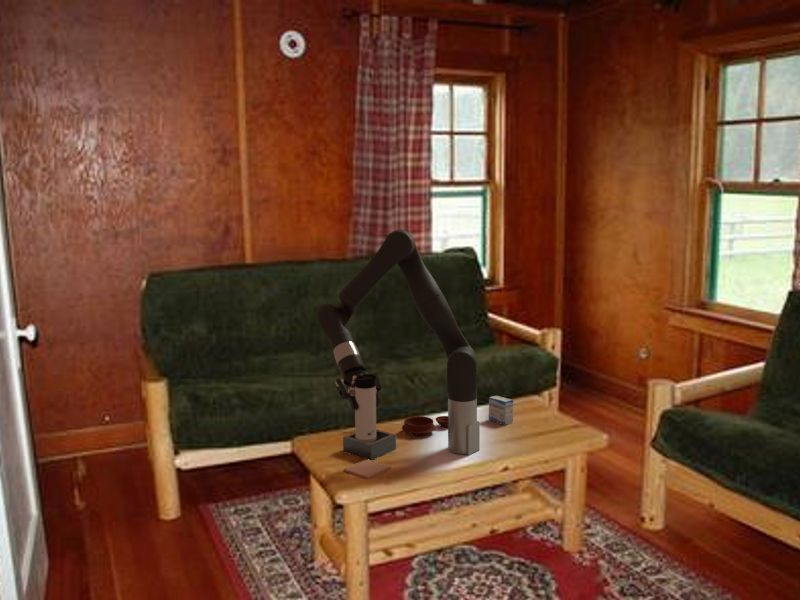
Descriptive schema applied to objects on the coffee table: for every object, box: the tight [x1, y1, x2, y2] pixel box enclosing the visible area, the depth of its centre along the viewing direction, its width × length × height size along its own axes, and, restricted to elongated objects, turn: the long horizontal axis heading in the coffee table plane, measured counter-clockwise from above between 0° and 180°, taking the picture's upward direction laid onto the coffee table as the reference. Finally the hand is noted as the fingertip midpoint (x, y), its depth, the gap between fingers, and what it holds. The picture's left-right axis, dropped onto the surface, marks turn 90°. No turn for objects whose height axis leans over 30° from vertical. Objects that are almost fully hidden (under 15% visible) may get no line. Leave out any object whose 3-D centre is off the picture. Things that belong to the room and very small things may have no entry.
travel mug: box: [354, 373, 377, 443], centre depth 213 cm, size 6×7×20 cm
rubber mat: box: [343, 459, 392, 480], centre depth 216 cm, size 10×10×1 cm
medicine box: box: [488, 395, 514, 426], centre depth 257 cm, size 8×4×9 cm, turn 43°
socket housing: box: [342, 428, 397, 461], centre depth 231 cm, size 12×12×5 cm
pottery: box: [401, 415, 448, 437], centre depth 250 cm, size 12×20×4 cm, turn 122°
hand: (367, 407), depth 213 cm, fingers closed on travel mug, 6 cm apart
